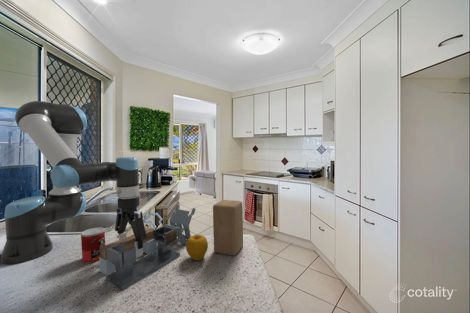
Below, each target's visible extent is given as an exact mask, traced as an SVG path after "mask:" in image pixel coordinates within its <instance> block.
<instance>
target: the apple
mask: <svg viewBox="0 0 470 313" xmlns="http://www.w3.org/2000/svg"><path fill="white" fill-rule="evenodd" d="M186 240H187V239H186ZM186 243H187V244H186V245H185V249H186V253H187V254H188V256H189V257H190V258H191V259H192V260H194V261H201V260H202V259H204V257H205V255H206V254H207V251H208V248H209V244H208V243H209V242H208V240H207V238H206V236H205V235H202V234H194V235H191V237H190V238H189V239H188V240H187V242H186Z"/></svg>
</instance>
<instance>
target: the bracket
mask: <svg viewBox="0 0 470 313" xmlns="http://www.w3.org/2000/svg"><path fill="white" fill-rule="evenodd" d="M179 208H180V205H178V204H176V206H175V209H174V210H173V211H172V213H171V216H170V219H169V224H165V223H164V224H163V226H167V227H171V228H174V229H177V239H176V240H175V239H174V240H175V242H174V243H177V244H178V243H181V244H182V245H185V246H186V244H187V240H188V239H189V238H190V237H191V236H192V235H191V230H190V224H191V220H192V217H193V216H194V215H195V214H196V210H197V209H196V208H194V207H192V209H191V211H189V210H184V209H179Z"/></svg>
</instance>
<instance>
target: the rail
mask: <svg viewBox="0 0 470 313" xmlns="http://www.w3.org/2000/svg"><path fill="white" fill-rule="evenodd" d="M153 230H155V229H154V228H147V229H145V231H146V236H147V237H146V238H145V239H143V243H145V242H148V241H150V240H152V239H154V234H153ZM135 240H136V238H135V236H134V234H132V235H129V236H128V235H127V236H126V238H123V239H121V240H119V239H118V240H116V241H113V242H110V243H107V244H105V246H102V247H100V258H102V259H104V260H107V248H111V247H112V246H115V245H117V244H120V243H122V242H124V245H125V251H126V250H128V249H130V248H133V247H135V242H134V241H135Z"/></svg>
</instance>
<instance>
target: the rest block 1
mask: <svg viewBox="0 0 470 313" xmlns="http://www.w3.org/2000/svg"><path fill="white" fill-rule="evenodd" d="M98 262H99V271H100V272H101V273H103V274H104V275H105V276H107V275H109V274H111V273H113V272H115V271H116V269H115V265H114V264H113V263H111V262H109V261H107V260H104V259H102V258H100V257H99V261H98Z"/></svg>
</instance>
